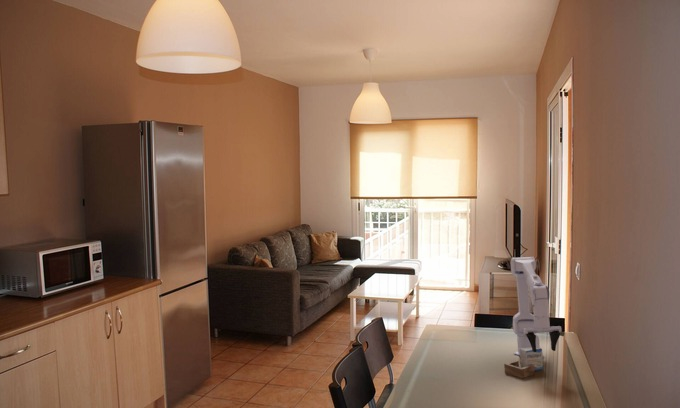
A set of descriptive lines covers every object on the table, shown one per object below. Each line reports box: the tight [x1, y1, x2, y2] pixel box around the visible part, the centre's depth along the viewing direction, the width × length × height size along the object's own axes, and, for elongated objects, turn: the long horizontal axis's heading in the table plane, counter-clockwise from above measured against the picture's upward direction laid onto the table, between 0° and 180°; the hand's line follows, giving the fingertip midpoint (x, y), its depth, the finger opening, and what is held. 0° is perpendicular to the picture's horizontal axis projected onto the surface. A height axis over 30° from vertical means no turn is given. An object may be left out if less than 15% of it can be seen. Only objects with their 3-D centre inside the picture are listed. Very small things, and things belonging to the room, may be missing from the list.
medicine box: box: [519, 347, 544, 372], centre depth 223 cm, size 8×4×9 cm, turn 105°
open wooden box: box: [503, 360, 535, 379], centre depth 219 cm, size 7×9×4 cm
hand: (543, 351), depth 214 cm, fingers open, 7 cm apart
